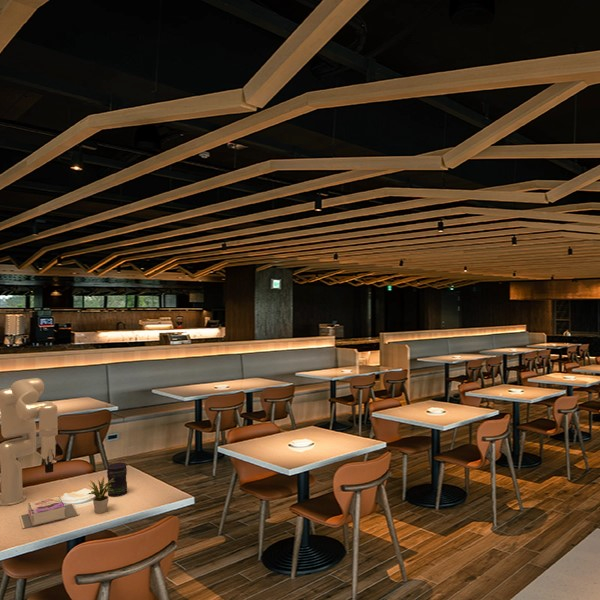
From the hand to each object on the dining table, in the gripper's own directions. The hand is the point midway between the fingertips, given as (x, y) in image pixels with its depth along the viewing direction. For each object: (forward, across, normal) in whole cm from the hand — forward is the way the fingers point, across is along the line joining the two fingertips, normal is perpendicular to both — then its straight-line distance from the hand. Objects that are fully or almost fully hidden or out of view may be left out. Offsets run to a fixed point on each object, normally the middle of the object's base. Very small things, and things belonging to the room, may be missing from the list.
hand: (49, 471), depth 229 cm
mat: (+25, -12, +1) cm, 28 cm away
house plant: (+25, -2, +23) cm, 34 cm away
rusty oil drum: (+26, -22, +35) cm, 49 cm away
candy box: (+22, -3, 0) cm, 22 cm away
